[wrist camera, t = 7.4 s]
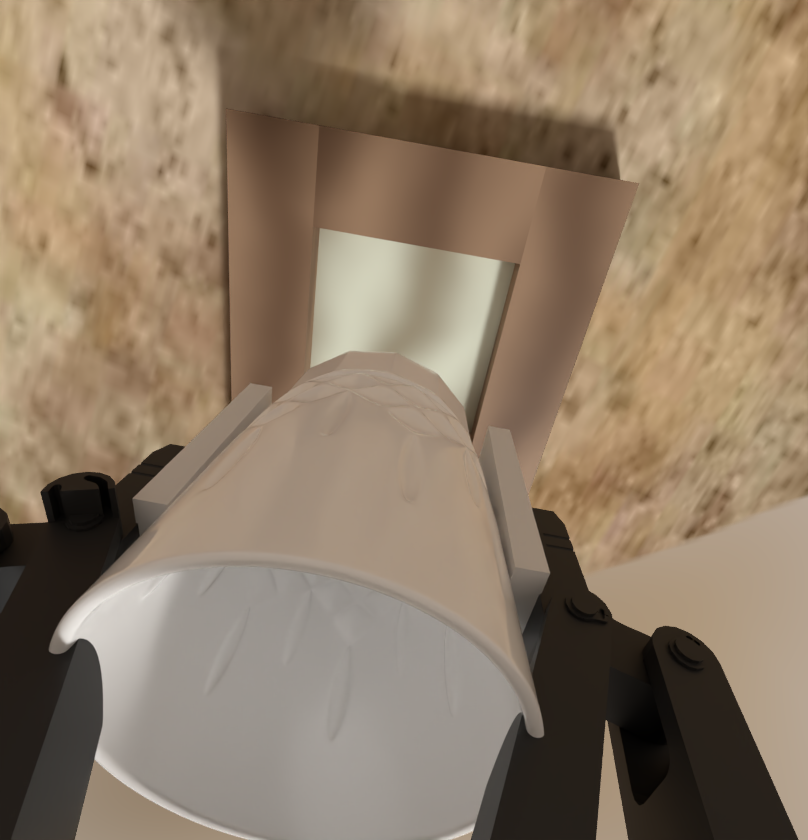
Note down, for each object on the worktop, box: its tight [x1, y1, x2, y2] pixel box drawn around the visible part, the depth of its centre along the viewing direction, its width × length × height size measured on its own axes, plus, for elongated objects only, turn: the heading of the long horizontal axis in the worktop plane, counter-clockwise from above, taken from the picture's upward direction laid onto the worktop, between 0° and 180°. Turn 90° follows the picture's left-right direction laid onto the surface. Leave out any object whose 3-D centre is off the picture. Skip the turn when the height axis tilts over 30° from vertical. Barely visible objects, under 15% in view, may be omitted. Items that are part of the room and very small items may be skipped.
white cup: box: [49, 351, 544, 840], centre depth 12 cm, size 8×8×10 cm
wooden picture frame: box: [226, 109, 639, 494], centre depth 27 cm, size 20×20×2 cm
